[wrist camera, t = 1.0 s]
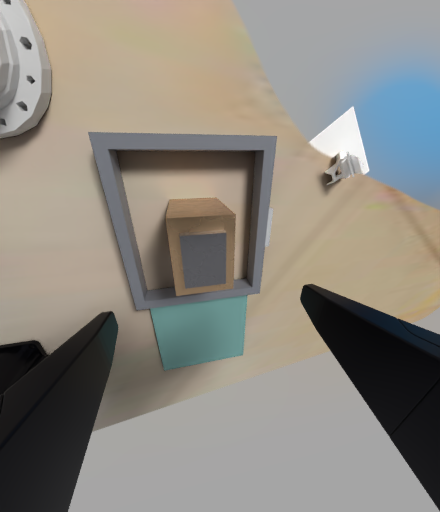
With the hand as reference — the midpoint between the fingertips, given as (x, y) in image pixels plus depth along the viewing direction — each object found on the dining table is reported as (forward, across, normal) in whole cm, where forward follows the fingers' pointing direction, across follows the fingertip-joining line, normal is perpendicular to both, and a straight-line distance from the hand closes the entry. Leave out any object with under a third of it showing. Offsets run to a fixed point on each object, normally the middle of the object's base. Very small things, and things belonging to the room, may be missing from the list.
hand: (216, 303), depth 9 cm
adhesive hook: (+13, -14, -5) cm, 19 cm away
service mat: (+12, 0, +15) cm, 19 cm away
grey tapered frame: (+12, 0, 0) cm, 12 cm away
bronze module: (+12, 0, 0) cm, 12 cm away
